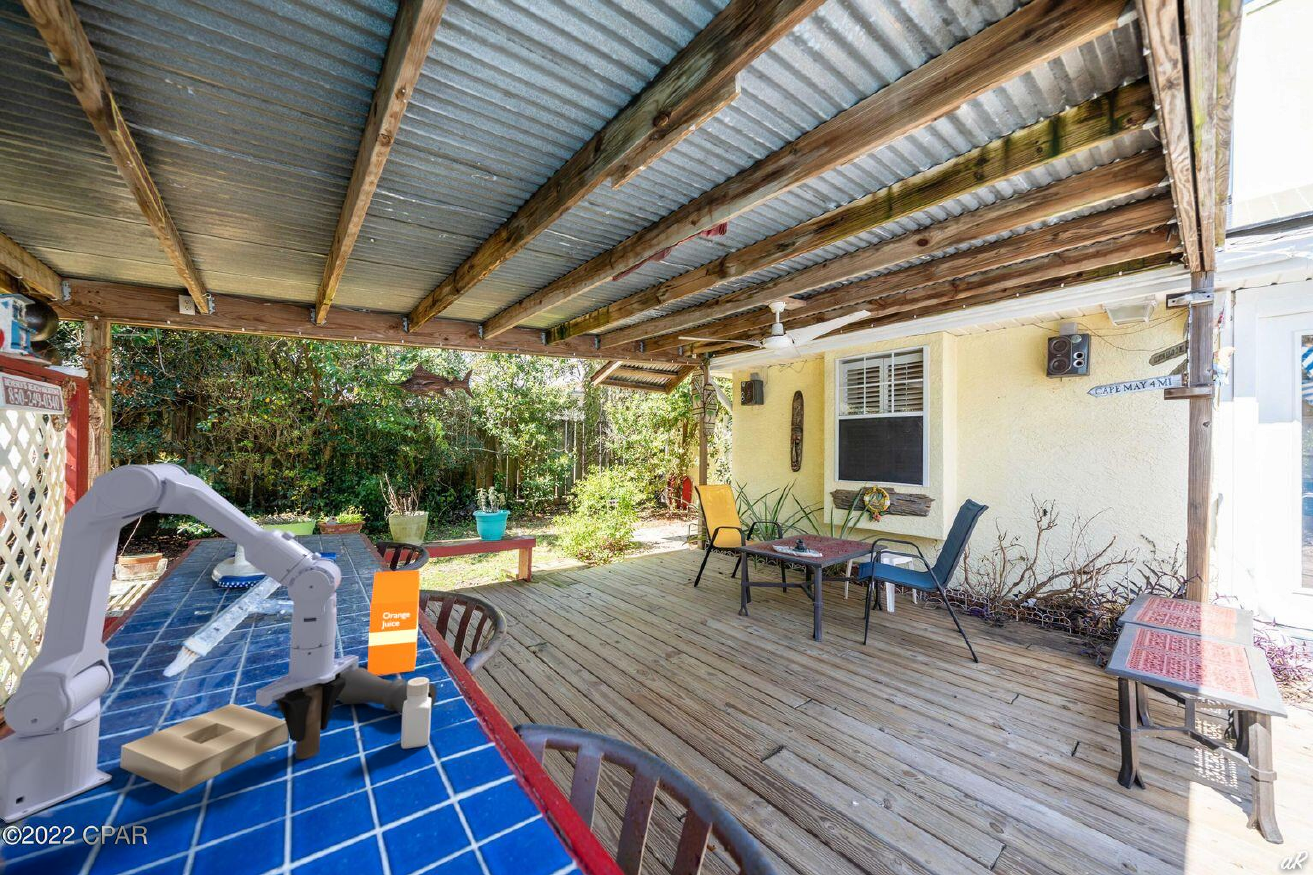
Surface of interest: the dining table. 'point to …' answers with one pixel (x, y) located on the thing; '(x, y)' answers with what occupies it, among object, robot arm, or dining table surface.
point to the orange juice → (394, 622)
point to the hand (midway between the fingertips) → (308, 733)
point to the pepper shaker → (416, 714)
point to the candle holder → (377, 690)
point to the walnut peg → (311, 725)
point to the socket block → (203, 746)
